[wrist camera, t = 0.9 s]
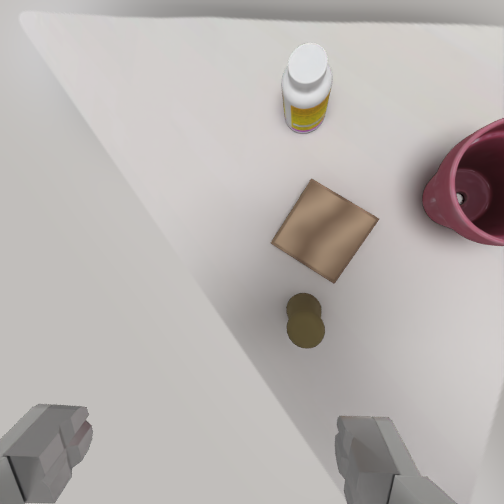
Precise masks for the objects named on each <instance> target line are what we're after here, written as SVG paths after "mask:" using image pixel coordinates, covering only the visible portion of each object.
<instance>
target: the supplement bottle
mask: <svg viewBox="0 0 504 504" xmlns="http://www.w3.org/2000/svg"><path fill="white" fill-rule="evenodd" d="M281 86H282V95H283V105H284V115H285V120H286V123H287V125H288V126H289V127H290V128H291V129H292V130H293V131H295V132H298V133H309V132H311V131H314V130H315V129H316V128H318V127H319V126H320V124H321V123H322V121H323V119H324V117H325V113H326V108H327V104H328V99H329V94H330V90H331V86H332V71H331V68H330V66H329V64H328V57H327V54H326V51H325V50H324V49H323V48H322V47H321V46H320V45H318V44H316V43H305V44H302V45H300V46H298V47H297V48H296V49H295V50H294V51H293V52H292V54H291V55H290V58H289V61H288V66H287V67H286V69H285V71H284V73H283V76H282V83H281Z"/></svg>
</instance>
